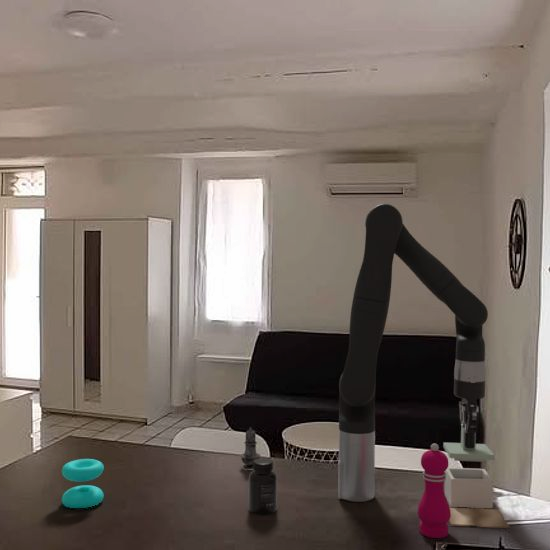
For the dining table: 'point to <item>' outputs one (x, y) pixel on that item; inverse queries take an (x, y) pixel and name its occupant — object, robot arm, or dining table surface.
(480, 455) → the lid
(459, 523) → the cork mat
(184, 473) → the dining table surface
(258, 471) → the supplement bottle
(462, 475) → the storage box
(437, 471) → the pepper mill
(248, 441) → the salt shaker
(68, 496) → the donuts
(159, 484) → the dining table surface
